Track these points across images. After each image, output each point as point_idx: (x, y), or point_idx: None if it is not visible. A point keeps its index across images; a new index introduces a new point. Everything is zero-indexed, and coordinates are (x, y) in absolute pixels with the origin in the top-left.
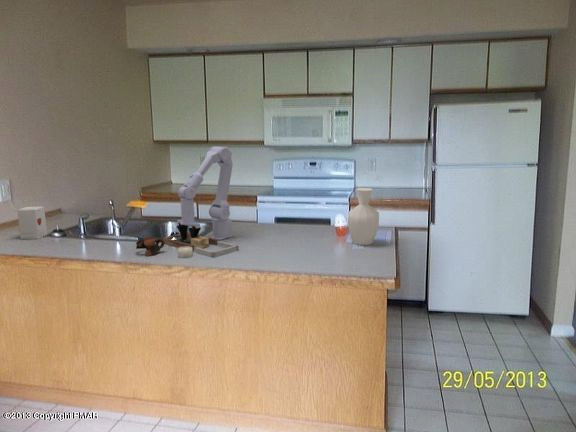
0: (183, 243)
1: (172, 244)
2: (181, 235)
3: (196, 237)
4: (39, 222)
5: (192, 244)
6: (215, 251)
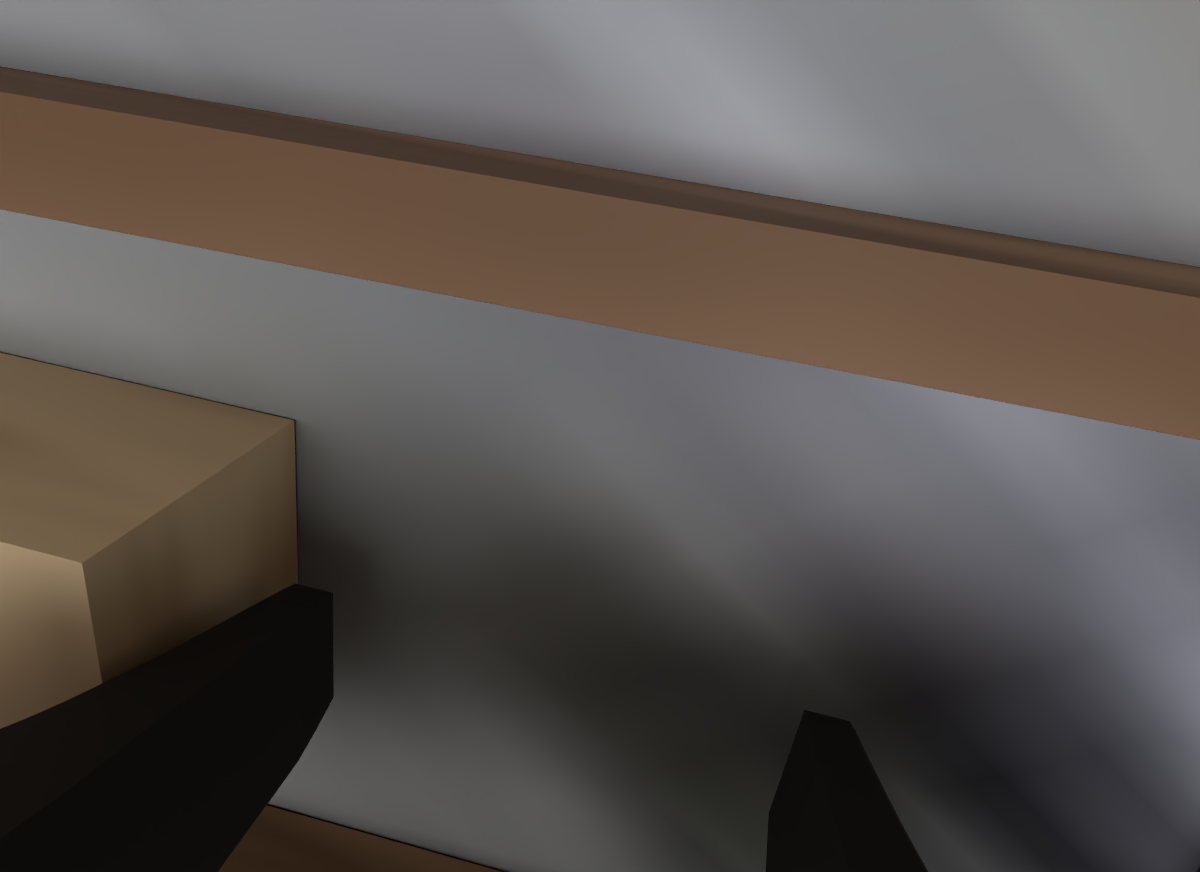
0: (143, 155)
1: (920, 228)
2: (870, 850)
3: None
4: None
5: (156, 440)
6: None
